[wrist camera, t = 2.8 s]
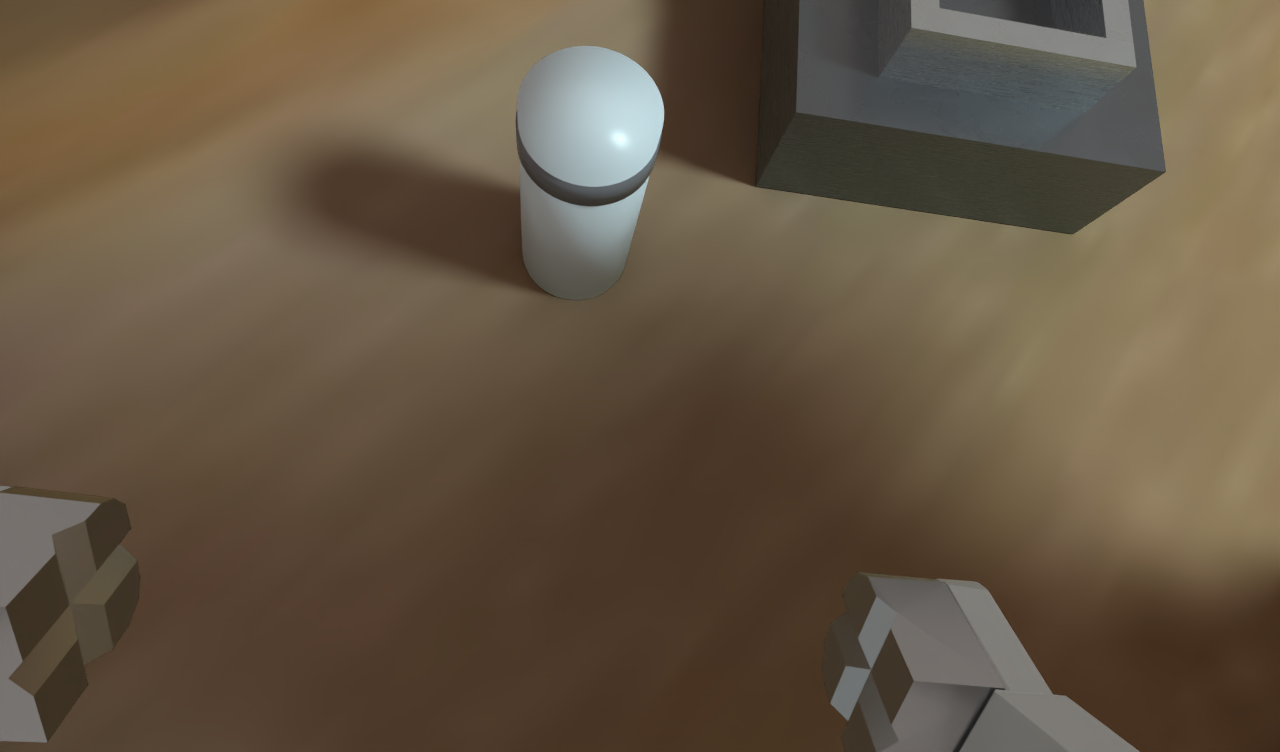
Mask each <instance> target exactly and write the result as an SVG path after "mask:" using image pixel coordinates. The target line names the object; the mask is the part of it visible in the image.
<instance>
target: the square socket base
mask: <svg viewBox="0 0 1280 752" xmlns="http://www.w3.org/2000/svg"><path fill="white" fill-rule="evenodd" d="M1165 172H1166V169H1165V161H1164V154H1163V146H1162V138H1161V131H1160V123H1159V116H1158V108H1157V101H1156V93H1155V86H1154V78H1153V70H1152V63H1151V55H1150V48H1149V40H1148V33H1147V25H1146V17H1145V10H1144V2H1143V0H765V3H764V24H763V45H762V67H761V88H760V109H759V131H758V152H757V173H756V187H763V188H770V189H776V190H783V191H790V192H796V193H803V194H810V195H816V196H823V197H830V198H836V199H843V200H849V201H856V202H863V203H869V204H876V205H883V206H889V207H896V208H903V209H909V210H916V211H923V212H929V213H936V214H943V215H949V216H956V217H962V218H969V219H976V220H982V221H989V222H996V223H1002V224H1009V225H1016V226H1022V227H1029V228H1036V229H1042V230H1049V231H1056V232H1062V233H1069V234H1074V233H1076V232H1077V231H1079V230H1080V229H1082V228H1083V227H1085V226H1086V225H1088V224H1089V223H1091V222H1092V221H1094V220H1095V219H1097V218H1098V217H1100V216H1101V215H1102V214H1104V213H1105V212H1107V211H1108V210H1110V209H1111V208H1113V207H1114V206H1116V205H1117V204H1119V203H1120V202H1122V201H1123V200H1125V199H1126V198H1128V197H1129V196H1131V195H1132V194H1134V193H1135V192H1137V191H1138V190H1140V189H1141V188H1143V187H1144V186H1146V185H1147V184H1149V183H1150V182H1152V181H1153V180H1155V179H1156V178H1158V177H1159V176H1161V175H1162V174H1163V173H1165Z"/></svg>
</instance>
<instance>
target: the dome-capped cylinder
mask: <svg viewBox="0 0 1280 752" xmlns="http://www.w3.org/2000/svg"><path fill="white" fill-rule="evenodd" d="M663 122H664V106H663V101H662V98H661V94H660V92H659V90H658V88H657V86H656V84H655V82H654V81H653V79H652V78H651V77H650V76H649V74H648V73H647V72H646V71H645V70H644V69H643V68H642V67H641V66H640V65H638V64H637V63H636V62H634V61H633V60H631V59H630V58H628V57H626V56H625V55H622V54H620V53H618V52H615V51H612V50H610V49H606V48H601V47H594V46H576V47H569V48H565V49H561V50H558V51H556V52H553V53H551V54H549V55H547V56H545V57H544V58H542V59H541V60H540V61H538V62H537V63H536V64H535V65H534V66H533V67H532V68H531V69H530V70H529V72H528V73H527V74H526V76H525V78H524V79H523V81H522V84H521V86H520V89H519V93H518V99H517V112H516V139H517V150H518V155H519V175H520V204H521V233H522V256H523V261H524V265H525V267H526V270H527V272H528V274H529V275H530V277H531V278H532V279H533V281H534V282H535V283H536V284H537V285H538V286H539V287H541V288H542V289H543V290H545V291H546V292H548V293H549V294H552V295H554V296H556V297H559V298H563V299H568V300H584V299H590V298H593V297H596V296H598V295H600V294H602V293H604V292H606V291H607V290H609V289H610V288H611V287H612V286H613V285H614V284H615V283H616V282H617V280H618V279H619V278H620V276H621V274H622V272H623V270H624V267H625V263H626V260H627V256H628V252H629V249H630V245H631V241H632V238H633V234H634V230H635V227H636V223H637V219H638V216H639V212H640V208H641V205H642V201H643V197H644V194H645V190H646V186H647V183H648V179H649V176H650V173H651V171H652V169H653V166H654V163H655V160H656V156H657V153H658V149H659V146H660V142H661V136H662V128H663Z"/></svg>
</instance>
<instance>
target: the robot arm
mask: <svg viewBox="0 0 1280 752" xmlns="http://www.w3.org/2000/svg"><path fill="white" fill-rule="evenodd" d="M130 530H131V525H130V521H129V517H128V513H127V508H126V504H124V503H122V502H120V501H118V500H116V499H114V498H107V497H99V496H91V495H82V494H74V493H66V492H58V491H49V490H41V489H33V488H25V487H16V486H14V487H7V486H0V741H15V742H45V743H47V742H48V741H49V740H50V738H51V737H52V735H53V734H54V733H55V731H56V730H57V728H58V727H59V726H60V724H61V723H62V721H63V720H64V718H65V717H66V716H67V714H68V713H69V711H70V710H71V709H72V707H73V706H74V704H75V703H76V702H77V700H78V699H79V697H80V696H81V694H82V693H83V692H84V690H85V689H86V687H87V686H88V679H87V674H86V668H85V665H86V664H88V663H90V662H92V661H93V660H95V659H97V658H99V657H100V656H102V655H104V654H105V653H107V652H109V651H111V650H112V649H114V647H115V646H116V644H117V643H118V641H119V640H120V639H121V637H122V636H123V634H124V633H125V631H126V630H127V628H128V627H129V624H130V621H131V619H132V616H133V613H134V611H135V608H136V605H137V602H138V600H139V589H140V573H139V567H138V561H137V560H136V559H135V558H134V557H133V556H132V555H131V554H130V553H129V552H128V551H127V550H126V549H125V548H124V547H123V546H122V545H121V544H120V542H121V541H122V540H123V539H124V537H125V536H126V535H127V534H128V532H129V531H130ZM842 597H843V600H844V602H845V605H846V608H847V610H848V611H847V612H846V613H844V614H843V615H842V616H840V617H839V618H837V619H836V620H835V621H833V622H832V623H831V625H830V628H829V630H828V633H827V636H826V639H825V642H824V649H823V662H822V668H823V676H824V684H825V687H826V691H827V694H828V698H829V701H830V704H831V705H832V706H833V707H834V708H835V709H836V710H837V711H838V712H839V713H840V714H841V715H842V716H843V717H844V718H845V719H846V720H847V721H848V722H847V725H846V727H845V729H844V731H843V734H842V736H841V740H842V743H843V746H844V749H845V752H1140V751H1138V750H1137V749H1136V748H1134V747H1133V746H1132V745H1130V744H1129V743H1128V742H1126V741H1125V740H1124V739H1122V738H1121V737H1120V736H1118V735H1117V734H1116V733H1114V732H1113V731H1112V730H1110V729H1109V728H1108V727H1107V726H1105V725H1104V724H1103V723H1101V722H1100V721H1099V720H1097V719H1096V718H1095V717H1093V716H1092V715H1091V714H1089V713H1088V712H1087V711H1085V710H1084V709H1083V708H1081V707H1080V706H1079V705H1077V704H1076V703H1075V702H1074V701H1072V700H1071V699H1070V698H1068V697H1067V696H1064V695H1054V694H1052V692H1051V690H1050V689H1049V687H1048V686H1047V684H1046V682H1045V681H1044V679H1043V678H1042V676H1041V674H1040V673H1039V671H1038V670H1037V668H1036V666H1035V665H1034V663H1033V662H1032V660H1031V658H1030V657H1029V655H1028V654H1027V652H1026V650H1025V649H1024V647H1023V646H1022V644H1021V642H1020V641H1019V639H1018V637H1017V636H1016V634H1015V633H1014V631H1013V629H1012V628H1011V626H1010V625H1009V623H1008V621H1007V620H1006V618H1005V617H1004V615H1003V613H1002V612H1001V610H1000V609H999V607H998V605H997V604H996V602H995V601H994V599H993V597H992V596H991V594H990V593H989V591H988V590H987V589H986V588H985V587H984V586H982V585H981V584H980V583H978V582H975V581H963V580H950V579H935V580H934V579H930V578H919V577H908V576H897V575H886V574H875V573H864V572H856V573H855V574H854V575H853V576H852V577H851V578H850V579H849V581H848V583H847V585H846V588H845V590H844V593H843V595H842Z"/></svg>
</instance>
